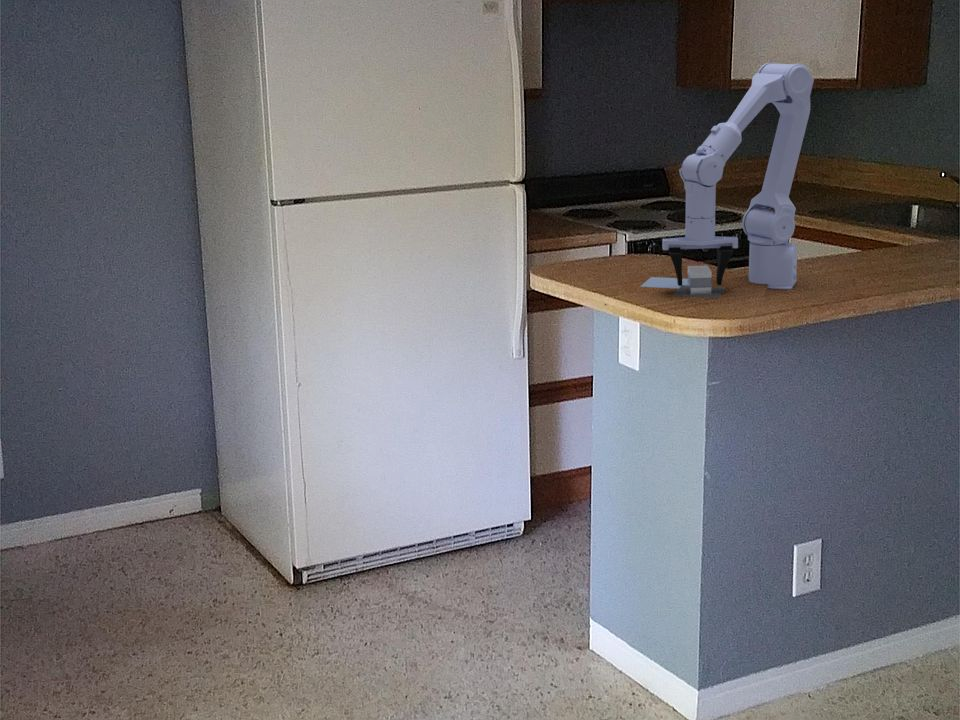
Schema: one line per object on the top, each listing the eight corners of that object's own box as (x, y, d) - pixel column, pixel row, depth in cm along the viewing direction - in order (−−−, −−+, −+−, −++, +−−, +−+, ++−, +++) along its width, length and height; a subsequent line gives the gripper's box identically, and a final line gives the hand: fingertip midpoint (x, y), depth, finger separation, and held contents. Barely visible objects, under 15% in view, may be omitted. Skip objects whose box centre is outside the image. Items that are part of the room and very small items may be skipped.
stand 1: (693, 282, 250) (693, 279, 250) (683, 292, 242) (683, 288, 242) (651, 280, 254) (651, 276, 253) (640, 290, 246) (640, 286, 245)
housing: (711, 294, 237) (711, 272, 235) (690, 294, 237) (691, 272, 236) (707, 287, 242) (707, 265, 241) (687, 288, 243) (687, 266, 241)
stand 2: (726, 291, 242) (726, 287, 242) (717, 301, 234) (717, 297, 234) (682, 289, 245) (682, 285, 245) (671, 299, 237) (671, 295, 237)
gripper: (734, 211, 239) (733, 279, 242) (660, 214, 239) (660, 280, 243) (740, 218, 232) (738, 286, 236) (664, 220, 233) (664, 288, 237)
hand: (699, 284), depth 239 cm, fingers open, 7 cm apart
